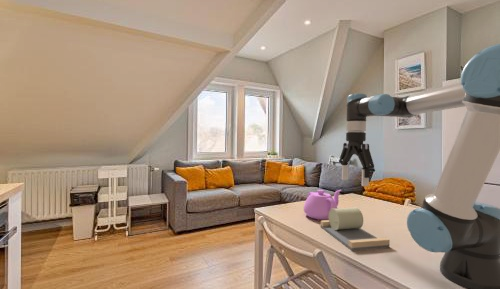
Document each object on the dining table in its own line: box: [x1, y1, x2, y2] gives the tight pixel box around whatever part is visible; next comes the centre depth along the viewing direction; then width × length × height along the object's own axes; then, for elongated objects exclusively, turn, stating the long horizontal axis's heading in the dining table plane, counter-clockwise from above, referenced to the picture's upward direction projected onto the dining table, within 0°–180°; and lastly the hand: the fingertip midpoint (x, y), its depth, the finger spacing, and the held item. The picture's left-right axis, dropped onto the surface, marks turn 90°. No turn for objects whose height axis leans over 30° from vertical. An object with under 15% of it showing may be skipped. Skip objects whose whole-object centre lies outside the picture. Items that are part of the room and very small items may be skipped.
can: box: [328, 206, 364, 230], centre depth 111 cm, size 9×9×12 cm
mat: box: [320, 220, 390, 252], centre depth 105 cm, size 24×16×3 cm, turn 11°
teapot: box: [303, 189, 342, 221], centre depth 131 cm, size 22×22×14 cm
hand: (354, 182), depth 104 cm, fingers open, 13 cm apart
